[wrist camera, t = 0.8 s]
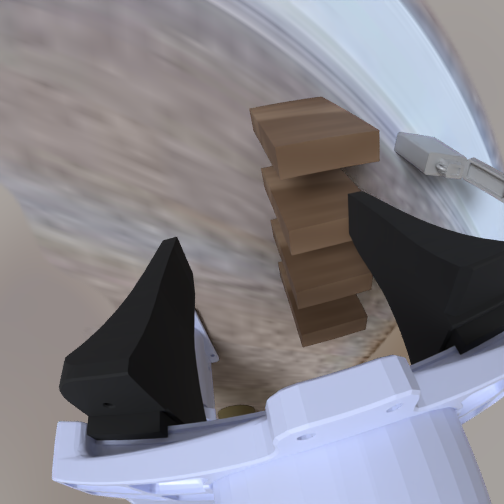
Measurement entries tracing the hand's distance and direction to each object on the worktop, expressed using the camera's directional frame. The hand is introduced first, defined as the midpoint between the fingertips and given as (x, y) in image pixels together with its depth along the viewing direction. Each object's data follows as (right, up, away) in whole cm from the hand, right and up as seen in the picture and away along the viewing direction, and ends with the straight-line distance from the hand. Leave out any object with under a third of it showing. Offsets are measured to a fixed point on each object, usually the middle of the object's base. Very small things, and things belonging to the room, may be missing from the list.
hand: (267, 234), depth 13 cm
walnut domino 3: (+3, +2, +12) cm, 13 cm away
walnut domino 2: (+3, +5, +10) cm, 11 cm away
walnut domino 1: (+2, +9, +7) cm, 11 cm away
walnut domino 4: (+4, -2, +15) cm, 16 cm away
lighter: (+14, +8, +10) cm, 19 cm away
